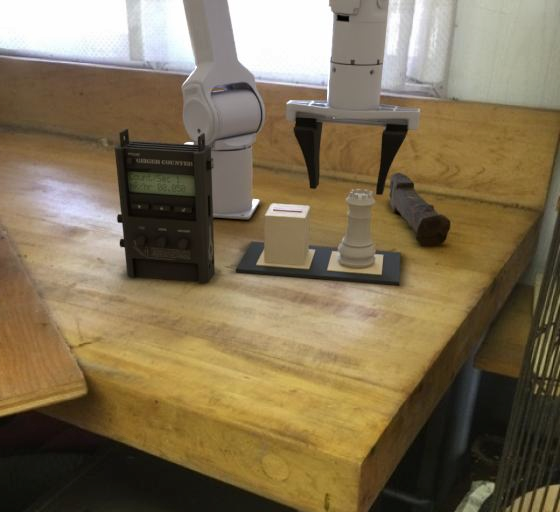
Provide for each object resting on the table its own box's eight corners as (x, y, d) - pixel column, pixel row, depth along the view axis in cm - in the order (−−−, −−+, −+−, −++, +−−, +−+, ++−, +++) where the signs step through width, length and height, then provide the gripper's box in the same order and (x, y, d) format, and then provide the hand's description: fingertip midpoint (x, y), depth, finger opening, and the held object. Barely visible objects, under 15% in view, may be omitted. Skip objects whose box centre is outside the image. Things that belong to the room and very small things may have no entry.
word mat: (235, 272, 77) (235, 268, 77) (251, 244, 85) (251, 240, 85) (399, 285, 75) (399, 281, 75) (400, 255, 83) (400, 251, 82)
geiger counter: (114, 279, 75) (98, 135, 67) (129, 264, 79) (116, 126, 71) (209, 288, 73) (204, 141, 66) (219, 271, 77) (215, 131, 70)
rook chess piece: (354, 251, 82) (359, 184, 78) (383, 262, 79) (390, 193, 75) (328, 260, 79) (331, 191, 75) (357, 272, 76) (362, 200, 72)
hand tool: (448, 247, 85) (454, 210, 83) (416, 247, 85) (421, 210, 83) (410, 201, 102) (413, 169, 99) (383, 201, 101) (386, 169, 99)
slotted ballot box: (264, 262, 79) (264, 214, 76) (270, 248, 82) (271, 202, 80) (303, 265, 78) (305, 217, 75) (308, 251, 82) (310, 204, 79)
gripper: (427, 61, 76) (412, 185, 83) (297, 54, 78) (293, 175, 85) (423, 69, 70) (407, 202, 77) (282, 61, 72) (279, 191, 79)
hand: (346, 189), depth 81 cm, fingers open, 7 cm apart
